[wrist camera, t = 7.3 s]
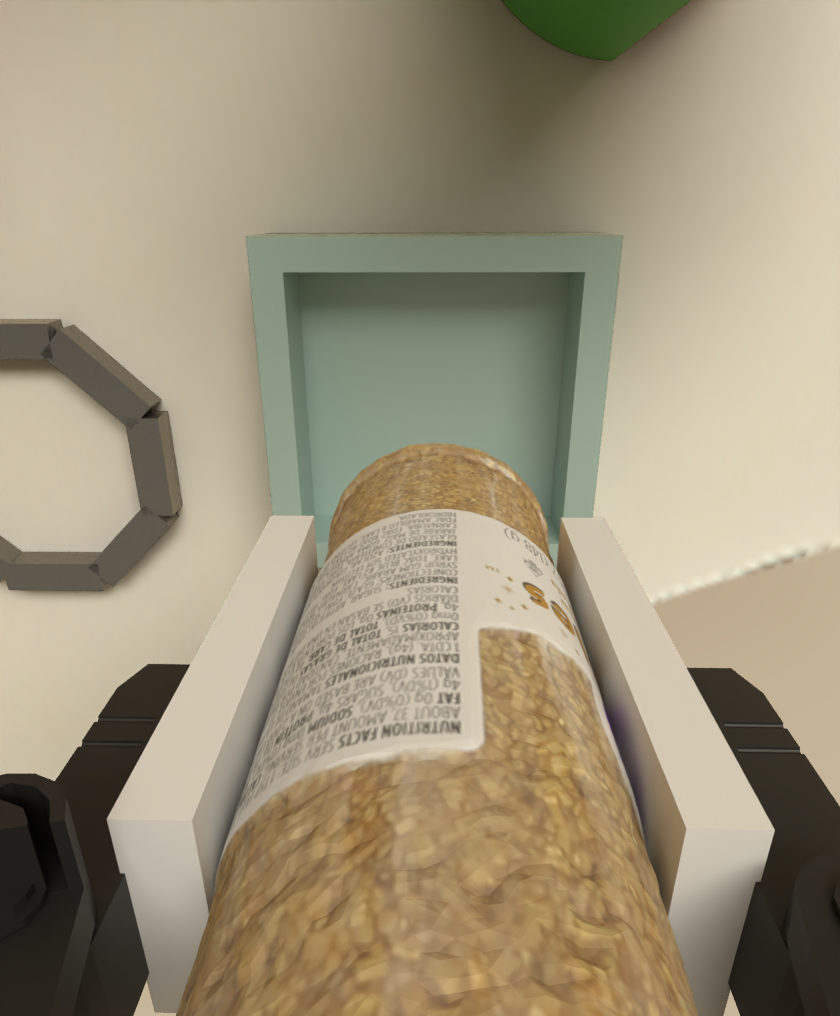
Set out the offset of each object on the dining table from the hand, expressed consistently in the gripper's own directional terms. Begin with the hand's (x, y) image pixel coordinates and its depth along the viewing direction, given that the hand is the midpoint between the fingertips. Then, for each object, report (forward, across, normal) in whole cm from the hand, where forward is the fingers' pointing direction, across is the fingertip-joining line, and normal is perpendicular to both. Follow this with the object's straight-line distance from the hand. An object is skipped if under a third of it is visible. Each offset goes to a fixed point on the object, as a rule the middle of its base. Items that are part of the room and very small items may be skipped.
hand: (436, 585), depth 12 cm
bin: (+14, 0, 0) cm, 14 cm away
